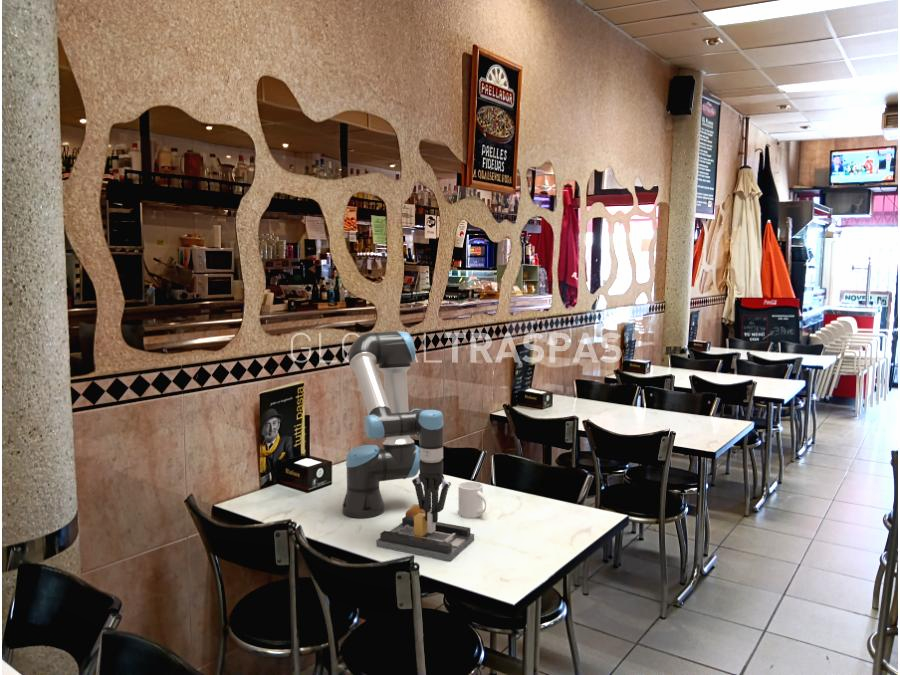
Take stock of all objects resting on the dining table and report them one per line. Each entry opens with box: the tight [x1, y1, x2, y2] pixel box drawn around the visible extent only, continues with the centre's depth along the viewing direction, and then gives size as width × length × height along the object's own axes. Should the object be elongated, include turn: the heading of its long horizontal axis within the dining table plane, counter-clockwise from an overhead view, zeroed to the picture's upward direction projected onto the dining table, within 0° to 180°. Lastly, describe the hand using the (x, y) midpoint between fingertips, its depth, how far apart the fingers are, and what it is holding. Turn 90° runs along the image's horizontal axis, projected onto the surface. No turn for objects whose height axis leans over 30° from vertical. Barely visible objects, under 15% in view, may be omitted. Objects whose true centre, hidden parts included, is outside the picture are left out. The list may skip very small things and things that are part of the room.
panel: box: [376, 515, 475, 562], centre depth 225 cm, size 26×18×4 cm
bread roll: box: [405, 503, 432, 518], centre depth 243 cm, size 10×10×8 cm
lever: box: [414, 513, 428, 537], centre depth 225 cm, size 3×4×7 cm
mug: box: [458, 481, 487, 519], centre depth 248 cm, size 9×12×11 cm
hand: (431, 531), depth 224 cm, fingers closed
